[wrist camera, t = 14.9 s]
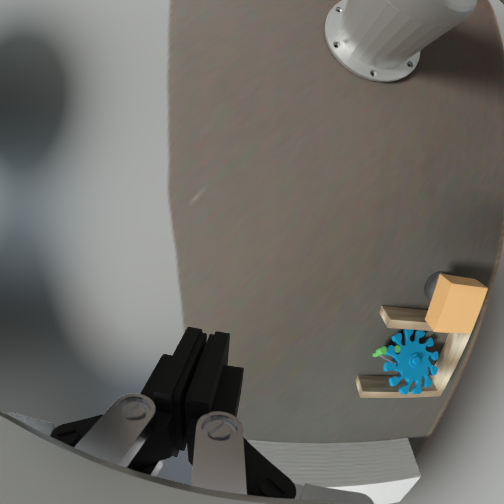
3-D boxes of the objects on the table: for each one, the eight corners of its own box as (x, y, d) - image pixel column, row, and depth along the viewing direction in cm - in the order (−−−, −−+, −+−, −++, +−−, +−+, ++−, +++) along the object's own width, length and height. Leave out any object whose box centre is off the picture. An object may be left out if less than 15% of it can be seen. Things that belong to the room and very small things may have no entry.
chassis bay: (381, 305, 39) (390, 319, 35) (462, 313, 39) (474, 325, 35) (355, 380, 43) (360, 397, 39) (432, 381, 43) (440, 396, 39)
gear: (447, 340, 38) (431, 403, 34) (424, 348, 44) (408, 405, 39) (393, 312, 39) (372, 378, 35) (373, 323, 45) (352, 382, 40)
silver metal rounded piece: (429, 270, 37) (450, 288, 31) (453, 273, 37) (475, 291, 31) (420, 299, 39) (439, 320, 32) (444, 301, 38) (464, 322, 32)
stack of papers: (245, 466, 53) (239, 507, 42) (247, 438, 49) (241, 484, 39) (389, 465, 50) (399, 502, 40) (407, 436, 47) (420, 476, 37)
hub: (439, 273, 33) (451, 283, 30) (475, 279, 32) (487, 288, 29) (424, 319, 35) (434, 331, 32) (460, 322, 34) (470, 333, 31)
